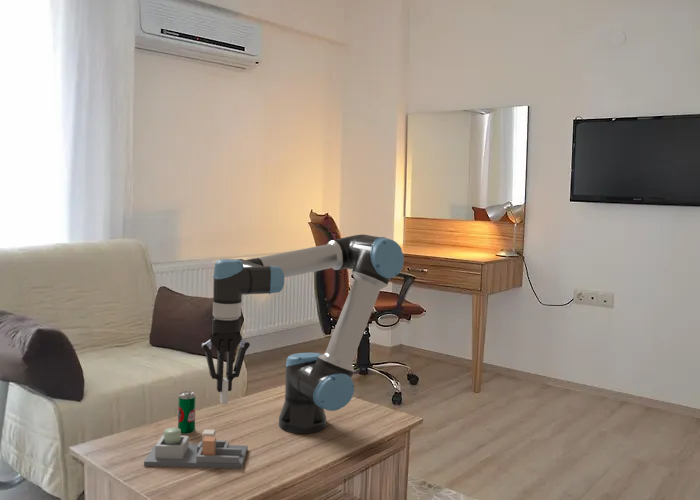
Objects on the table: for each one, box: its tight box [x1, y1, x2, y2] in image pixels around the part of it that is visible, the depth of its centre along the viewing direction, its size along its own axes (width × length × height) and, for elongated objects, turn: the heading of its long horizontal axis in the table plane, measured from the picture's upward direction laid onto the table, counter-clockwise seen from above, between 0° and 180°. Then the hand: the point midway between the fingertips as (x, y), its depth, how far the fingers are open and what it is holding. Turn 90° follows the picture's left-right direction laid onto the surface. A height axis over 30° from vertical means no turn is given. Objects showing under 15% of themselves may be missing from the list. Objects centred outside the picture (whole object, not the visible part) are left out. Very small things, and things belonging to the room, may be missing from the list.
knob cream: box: [201, 428, 216, 447], centre depth 179 cm, size 3×3×5 cm
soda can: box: [177, 390, 197, 435], centre depth 194 cm, size 5×5×12 cm
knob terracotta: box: [203, 436, 217, 455], centre depth 174 cm, size 3×3×5 cm
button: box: [163, 427, 182, 444], centre depth 176 cm, size 4×4×3 cm
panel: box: [143, 434, 248, 469], centre depth 176 cm, size 26×12×5 cm, turn 92°
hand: (223, 402), depth 173 cm, fingers closed
